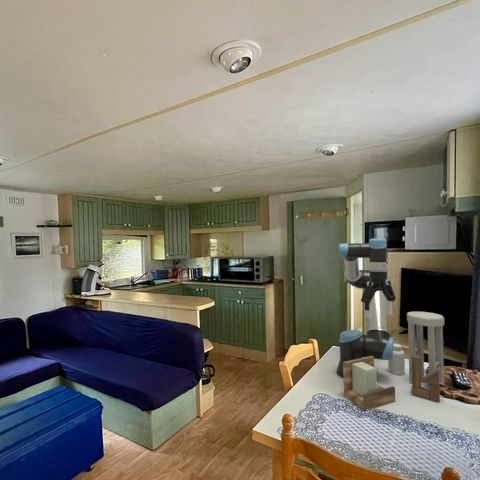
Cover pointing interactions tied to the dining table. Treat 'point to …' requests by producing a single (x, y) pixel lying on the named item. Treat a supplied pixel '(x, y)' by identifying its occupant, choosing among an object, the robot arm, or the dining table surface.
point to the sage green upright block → (364, 378)
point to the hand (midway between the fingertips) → (379, 316)
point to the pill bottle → (397, 361)
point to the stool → (433, 356)
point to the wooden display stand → (369, 399)
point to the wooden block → (424, 381)
